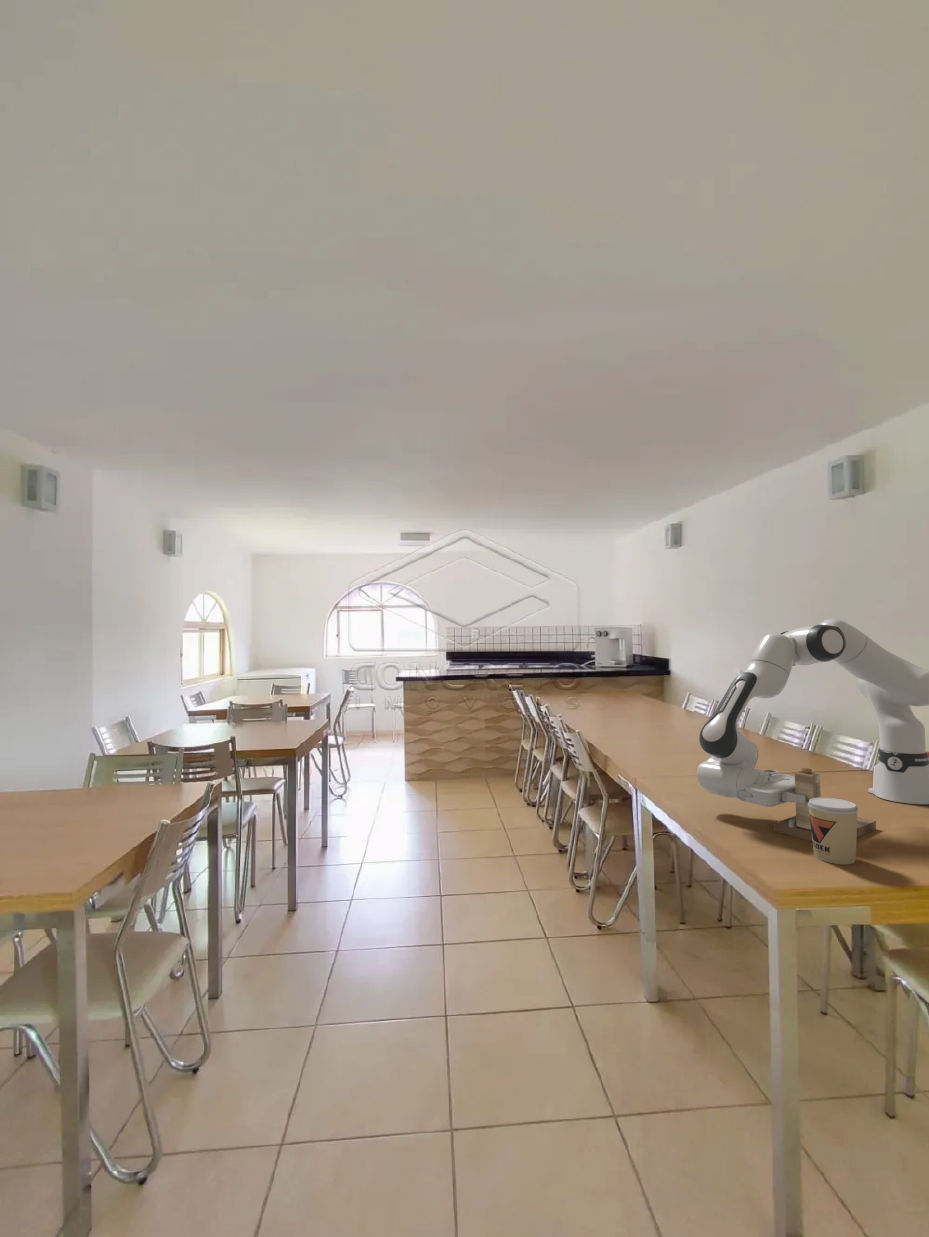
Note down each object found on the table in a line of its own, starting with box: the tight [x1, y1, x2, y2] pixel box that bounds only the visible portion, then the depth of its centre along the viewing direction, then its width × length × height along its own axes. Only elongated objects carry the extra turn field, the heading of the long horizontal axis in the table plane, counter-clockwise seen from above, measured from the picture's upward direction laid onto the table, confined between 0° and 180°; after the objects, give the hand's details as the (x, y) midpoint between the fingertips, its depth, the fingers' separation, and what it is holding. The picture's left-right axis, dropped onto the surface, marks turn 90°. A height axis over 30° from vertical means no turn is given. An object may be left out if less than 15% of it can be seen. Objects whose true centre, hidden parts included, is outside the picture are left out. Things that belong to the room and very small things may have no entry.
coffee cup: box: [808, 797, 859, 865], centre depth 128 cm, size 9×9×12 cm
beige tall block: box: [794, 767, 822, 830], centre depth 142 cm, size 4×5×14 cm
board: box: [773, 815, 877, 842], centre depth 146 cm, size 22×14×4 cm, turn 124°
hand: (811, 797), depth 142 cm, fingers closed on beige tall block, 4 cm apart
